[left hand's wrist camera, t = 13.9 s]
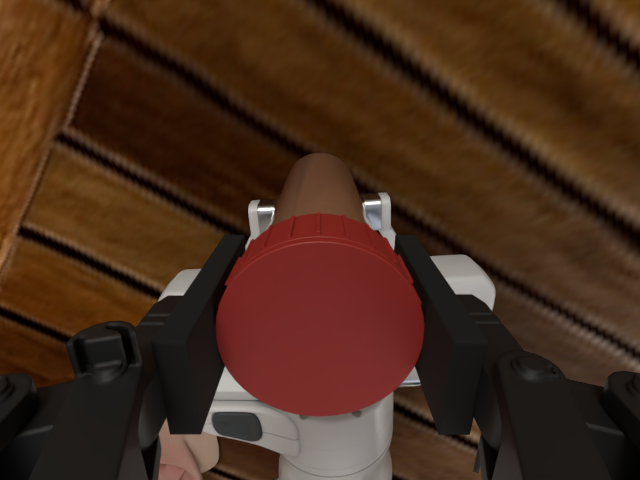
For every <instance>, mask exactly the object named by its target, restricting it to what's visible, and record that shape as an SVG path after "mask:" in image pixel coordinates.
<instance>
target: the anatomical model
mask: <svg viewBox="0 0 640 480" xmlns="http://www.w3.org/2000/svg"><path fill="white" fill-rule="evenodd" d="M159 437H160V441H161V458H160V467H159V476H158V480H203V478H202V474H201V473H202V472H205V471H207V470H209V469H211V468H212V467H214V466H215V465H216V463H217V462H218V459H219V446H218V441H217V436H215V435H211V434H207V433H205V432H203V431H202V433H201V435H170V432H169V427H168V423H167V418H166V420H165V422H164V424H163V426H162V428H161V430H160V432H159Z"/></svg>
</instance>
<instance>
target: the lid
mask: <svg viewBox="0 0 640 480" xmlns="http://www.w3.org/2000/svg"><path fill="white" fill-rule="evenodd" d="M412 283H414V282H413V280H412V278H411V276H410V274H409V272H408V270H407V268H406V266H405V264H404V262H403V260H402V258H401V256H400V255H398V256H397V254H396V253H395V251H394V250H393V248H392V247H391V245H390V243H389V241H388V239H387V238H386V237H385V238H383V237H382V236H381V235H379V234H378V233H377V232H376V231H374V230H373V229H371V228H370V227H369V225H368V224H366V223H365V224H363V223H360V222H358V221H356V220H353V219H350V218H347V217H346V216H345V215H342V216H339V215H333V214H320V212H317V214H306V215H301V216H296V217H295V215H294V216H292V217H291V218H290V219H287V220H284V221H281V222H279V223H277V224H275V225H273V226H272V225H270V226H269V227H268V229H267V230H266V231H264V232H263V233H261V234H260V235H259V236H258V237H257V238H256V239H255V240H254V239H252V240H251V241H250V243H249V245H248V247H247V249H246V251H245V252H244V254H243V256H242V257H239V258H238V260H237V262H236V264H235V265H234V267H233V269H232V271H231V273H230V275H229V277H228V279H227V281H226V283H225V285H226V286H227V288H226V290H225V292H224V294H223V296H222V298H221V300H220V302H219V304H218V311H217V315H216V323H215V331H216V339H217V346H218V351H219V353H220V356H221V359H222V361H223V363H224V365H225V366H226V368H227V370H228V372H229V373H230V374H231V376H232V377H233V378H234V380H235V381H236V382H237V383H238V384H239V385H240V386H241V387H242V388H243V389H244V390H246V391H247V392H248V393H249V394H251V395H252V396H253V397H255V398H257V399H258V400H260V401H261V402H263V403H265V404H267V405H269V406H271V407H274V408H276V409H279V410H282V411H285V412H289V413H293V414H298V415H305V416H335V415H341V414H347V413H351V412H354V411H358V410H361V409H363V408H366V407H368V406H371V405H372V404H374V403H376V402H378V401H380V400H382V399H383V398H385V397H386V396H388V395H389V394H391V393H392V392H393V391H394V390H395V389H396V388H398V387H399V386H400V385H401V384H402V383H403V381H404V380H405V379H406V378H407V377H408V375H409V374H410V373H411V371H412V370H413V368H414V366H415V364H416V362H417V360H418V358H419V355H420V353H421V350H422V345H423V337H424V328H425V323H424V316H423V311H422V307H421V305H422V303H421V300H420V298H419V296H418V294H417V292H416V290H415V288H414V286H413V284H412Z"/></svg>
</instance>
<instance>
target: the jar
mask: <svg viewBox="0 0 640 480" xmlns="http://www.w3.org/2000/svg"><path fill="white" fill-rule="evenodd" d="M317 212H320V214H333V215H339V216H342V215H345V216H346V217H347V218H350V219H353V220H356V221H358V222H360V223H363V224H365V223H366V224H368V225H369V227H370V228H371V229H373V230H374V228H373V225H372V223H371V221H370V218H369V216H368V213H367V211H366V208H365V206H364V203H363V201H362V199H361V196H360V194H359V191H358V189H357V186H356V184H355V182H354V179H353V177H352V174H351V172H350V170H349V169H348V167H347V166H346V165H345V163H344V162H342V161H341V160H340V159H339V158H337V157H335V156H333V155H330V154H326V153H314V154H310V155H307V156H305V157H303V158H301V159H300V160H298V161H297V162H296V163H295V164H294V165H293V167H292V168H291V170H290V172H289V174H288V176H287V179H286V181H285V184H284V186H283V188H282V191H281V193H280V196H279V198H278V201H277V203H276V205H275V208H274V210H273V213H272V215H271V218H270V220H269V223H268V225H267V227H266V230H267V229H268V227H269V226H270V225H272V226H273V225H275V224H277V223H279V222H281V221H284V220H287V219H290V218H291V217H292V216H294V215H295V217H296V216H301V215H306V214H317ZM266 230H265V231H266ZM374 231H375V230H374Z"/></svg>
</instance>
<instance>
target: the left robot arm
mask: <svg viewBox="0 0 640 480" xmlns="http://www.w3.org/2000/svg"><path fill="white" fill-rule="evenodd" d="M245 251H246V248H245V235H225V236H224V237H223V238H222V240H221V241H220V243H219V244H218V246H217V247H216V249H215V250H214V251H213V253H212V254H211V256H210V257H209V259H208V260H207V262H206V263H205V265H204V266H203V267H202V269H201V270H200V272H199V273H198V275H197V276H196V278H195V279H194V280H193V282H192V283H191V285H190V286H189V288H188V289H187V291H186V292H185V294H184V295H168V296H166V297H165V298H163V299H162V300H160V301H159V302H157V303H155V304H154V305H153V306H152V308H151V309H150V310H149V311H148V313H147V314H146V317H144V318H143V319H142V320H141V321H140V323H139V325H137V326H136V328H135V327H134V326H133V325H132V324H131V323H128V322H123V321H109V322H104V323H100V324H96V325H93V326H91V327H89V328H86V329H84V330H82V331H80V332H79V333H77V334H76V335H74V336H73V337H72V338H71V339H70V340H69V341H68V342H67V343H66V344H65V345H66V348H67V352H68V355H69V358H70V361H71V364H72V368H73V371H74V374H75V378H74V380H73V381H69V382H65V383H61V384H56V385H51V386H47V387H42V388H37V389H36V387H35V385H34V382H33V379H32V378H31V377H30V376H28V375H27V374H23V373H10V374H4V375H0V480H158V476H159V467H160V458H161V441H160V437H159V432H160V430H161V428H162V426H163V424H164V422H165V420H166V418H167V423H168V427H169V432H170V435H201V433H202V430H203V427H204V425H205V422H206V419H207V416H208V413H209V410H210V408H211V405H212V402H213V399H214V396H215V393H216V391H217V388H218V385H219V382H220V379H221V376H222V374H223V371H224V368H225V365H224V363H223V361H222V359H221V356H220V353H219V351H218V346H217V339H216V331H215V323H216V315H217V311H218V304H219V302H220V300H221V298H222V296H223V294H224V292H225V290H226V288H227V286H226V285H225V283H226V281H227V279H228V277H229V275H230V273H231V271H232V269H233V267H234V265H235V264H236V262H237V260H238V258H239V257H242V256H243V254H244V252H245ZM394 251H395V253H396V254H397V256H398V255H400V256H401V258H402V260H403V262H404V264H405V266H406V268H407V270H408V272H409V274H410V276H411V278H412V280H413V282H414V283H412V284H413V286H414V288H415V290H416V292H417V294H418V296H419V298H420V300H421V303H422V305H421V307H422V311H423V316H424V323H425V328H424V337H423V345H422V350H421V353H420V355H419V358H418V360H417V362H416V364H415V368H416V371H417V374H418V377H419V380H420V383H421V385H422V388H423V391H424V394H425V397H426V400H427V403H428V405H429V408H430V411H431V414H432V417H433V420H434V422H435V425H436V428H437V431H438V434H439V435H470V431H471V426H472V421H473V417H474V418H475V420H476V422H477V425H478V427H479V429H480V431H481V437H480V441H479V446H478V450H477V455H476V459H475V464H474V471H473V472H477V473H478V472H479V468H480V466H481V475H482V480H640V373H634V372H628V371H620V372H614V373H612V374H611V375H610V376H608V378H607V381H606V384H605V387H601V386H596V385H592V384H587V383H582V382H578V381H573V380H569V379H566V378H565V376H564V374H563V373H562V372H561V370H560V369H559V368H558V367H557V366H556V365H554V364H553V363H552V362H550V361H549V360H547V359H545V358H543V357H541V356H539V355H537V354H534V353H530V352H526V351H524V350H523V349H522V347H521V346H520V345H519V344H518V342H517V341H516V340H515V339H514V338H513V336H512V335H511V334H510V333H509V331H508V330H507V329H506V328H505V326H504V325H503V324H501V321H500V320H499V319H498V318H497V316H496V315H494V313H493V311H492V310H491V309H490V308H489V306H488V305H487V304H486V303H485V302H483V301H482V300H480V299H479V298H477V297H476V296H474V295H472V294H455V292H454V291H453V290H452V288H451V287H450V285H449V284H448V282H447V281H446V279H445V278H444V276H443V275H442V274H441V272H440V271H439V269H438V268H437V266H436V265H435V263H434V262H433V261H432V259H431V258H430V256H429V255H428V253H427V252H426V250H425V249H424V247H423V246H422V245H421V243H420V242H419V240H418V239H417V237H416V236H415V235H395V245H394Z"/></svg>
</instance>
